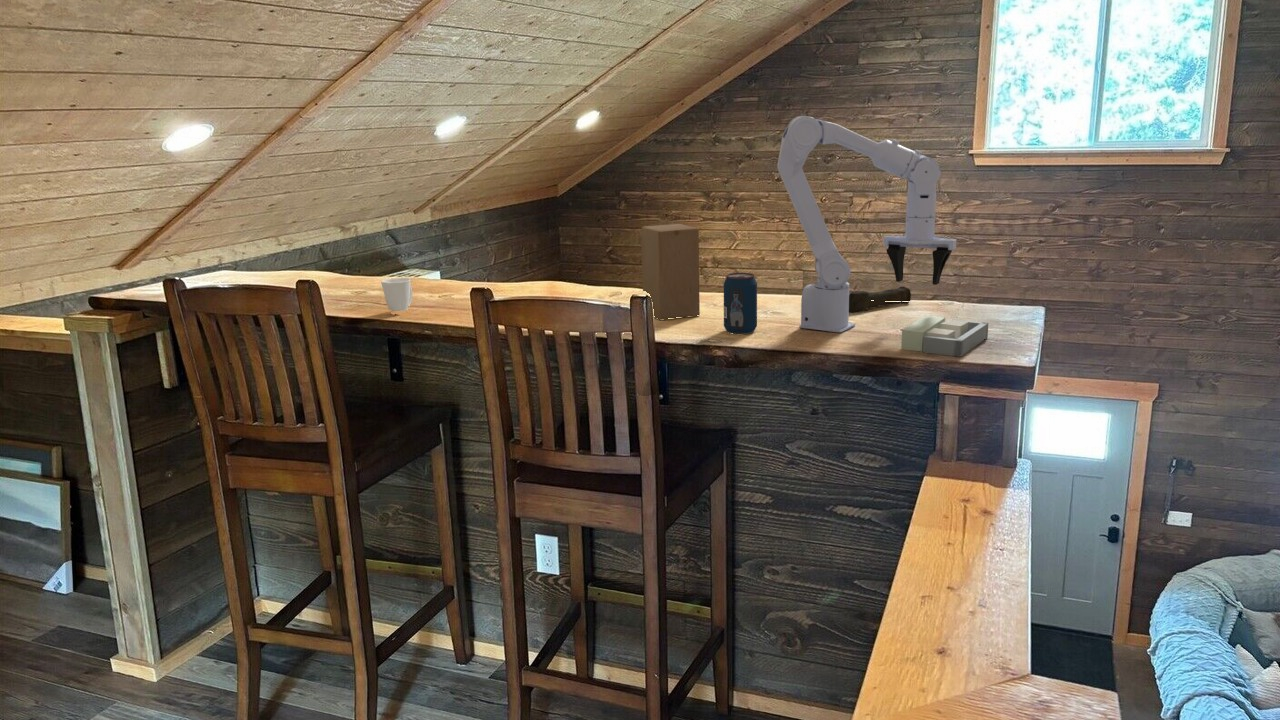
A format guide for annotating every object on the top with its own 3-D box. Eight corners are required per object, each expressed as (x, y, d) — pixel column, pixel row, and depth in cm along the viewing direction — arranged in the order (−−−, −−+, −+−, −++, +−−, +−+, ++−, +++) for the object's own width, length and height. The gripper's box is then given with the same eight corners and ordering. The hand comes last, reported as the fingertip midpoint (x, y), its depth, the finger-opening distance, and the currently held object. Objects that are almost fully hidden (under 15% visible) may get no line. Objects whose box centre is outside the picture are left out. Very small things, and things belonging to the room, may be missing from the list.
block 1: (925, 350, 183) (926, 332, 182) (933, 345, 186) (934, 328, 185) (946, 352, 180) (947, 334, 179) (953, 348, 183) (955, 330, 182)
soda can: (750, 326, 205) (750, 271, 202) (761, 333, 199) (761, 276, 195) (719, 329, 204) (719, 273, 201) (729, 336, 197) (729, 278, 194)
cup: (378, 316, 227) (374, 282, 225) (399, 307, 236) (396, 275, 234) (404, 317, 225) (401, 283, 223) (425, 308, 234) (422, 275, 232)
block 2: (939, 340, 189) (940, 323, 188) (947, 336, 192) (948, 319, 191) (959, 343, 187) (960, 326, 186) (967, 339, 190) (968, 322, 189)
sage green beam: (901, 350, 184) (901, 330, 183) (924, 335, 195) (925, 315, 194) (921, 352, 182) (922, 332, 181) (944, 337, 193) (945, 317, 192)
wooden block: (700, 316, 216) (699, 227, 211) (659, 321, 213) (657, 231, 208) (682, 308, 225) (680, 223, 220) (642, 313, 222) (640, 226, 217)
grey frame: (922, 352, 181) (923, 336, 180) (952, 333, 194) (953, 319, 193) (960, 356, 177) (961, 341, 176) (987, 337, 190) (988, 322, 189)
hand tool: (899, 301, 227) (899, 282, 226) (911, 304, 224) (912, 284, 223) (837, 312, 218) (838, 292, 217) (849, 315, 215) (850, 294, 214)
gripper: (878, 217, 196) (876, 282, 199) (950, 220, 188) (946, 288, 191) (891, 213, 201) (888, 277, 205) (961, 216, 193) (957, 282, 197)
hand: (917, 282), depth 198 cm, fingers open, 7 cm apart
